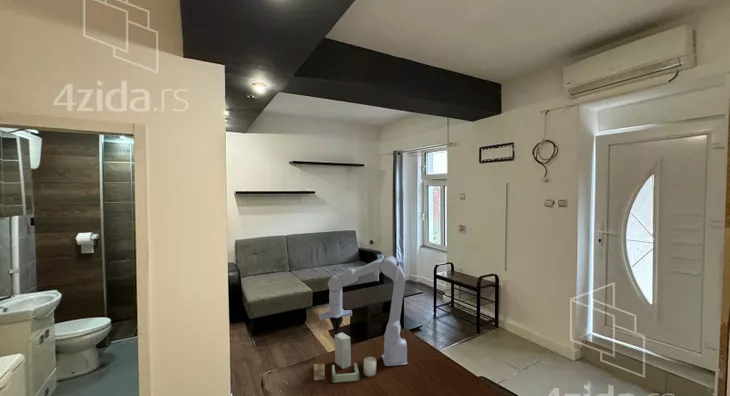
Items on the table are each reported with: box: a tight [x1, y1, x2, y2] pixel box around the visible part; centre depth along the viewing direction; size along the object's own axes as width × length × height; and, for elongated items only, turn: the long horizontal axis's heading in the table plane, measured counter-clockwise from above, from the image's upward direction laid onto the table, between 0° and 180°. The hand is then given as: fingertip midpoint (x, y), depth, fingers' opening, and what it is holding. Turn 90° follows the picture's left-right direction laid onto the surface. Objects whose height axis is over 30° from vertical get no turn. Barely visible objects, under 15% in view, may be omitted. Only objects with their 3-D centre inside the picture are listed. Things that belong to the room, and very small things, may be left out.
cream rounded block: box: [363, 356, 377, 377], centre depth 120 cm, size 5×5×5 cm
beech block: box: [313, 363, 326, 381], centre depth 117 cm, size 4×4×4 cm
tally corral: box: [331, 362, 360, 384], centre depth 118 cm, size 10×8×2 cm
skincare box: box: [334, 332, 352, 370], centre depth 126 cm, size 6×4×12 cm
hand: (335, 333), depth 134 cm, fingers closed
